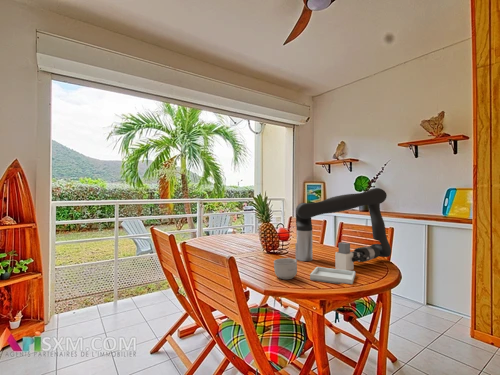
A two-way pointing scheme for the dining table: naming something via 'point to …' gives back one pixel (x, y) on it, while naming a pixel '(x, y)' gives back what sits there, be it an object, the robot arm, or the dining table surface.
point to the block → (344, 247)
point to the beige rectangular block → (343, 261)
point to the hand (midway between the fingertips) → (345, 257)
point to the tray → (332, 275)
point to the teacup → (285, 268)
